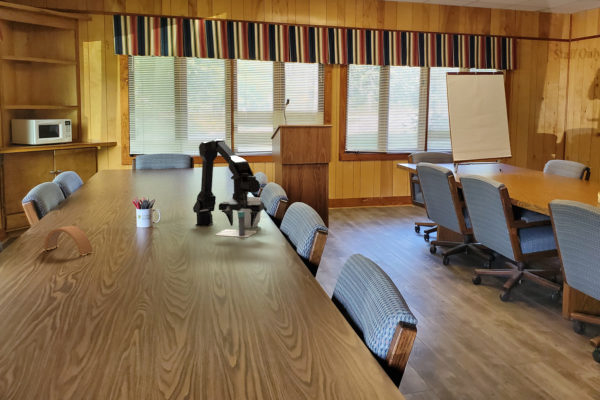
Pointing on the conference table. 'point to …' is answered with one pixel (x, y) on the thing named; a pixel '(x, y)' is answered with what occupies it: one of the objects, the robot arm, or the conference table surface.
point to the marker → (241, 223)
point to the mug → (248, 215)
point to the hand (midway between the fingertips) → (241, 226)
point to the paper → (235, 233)
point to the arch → (74, 232)
